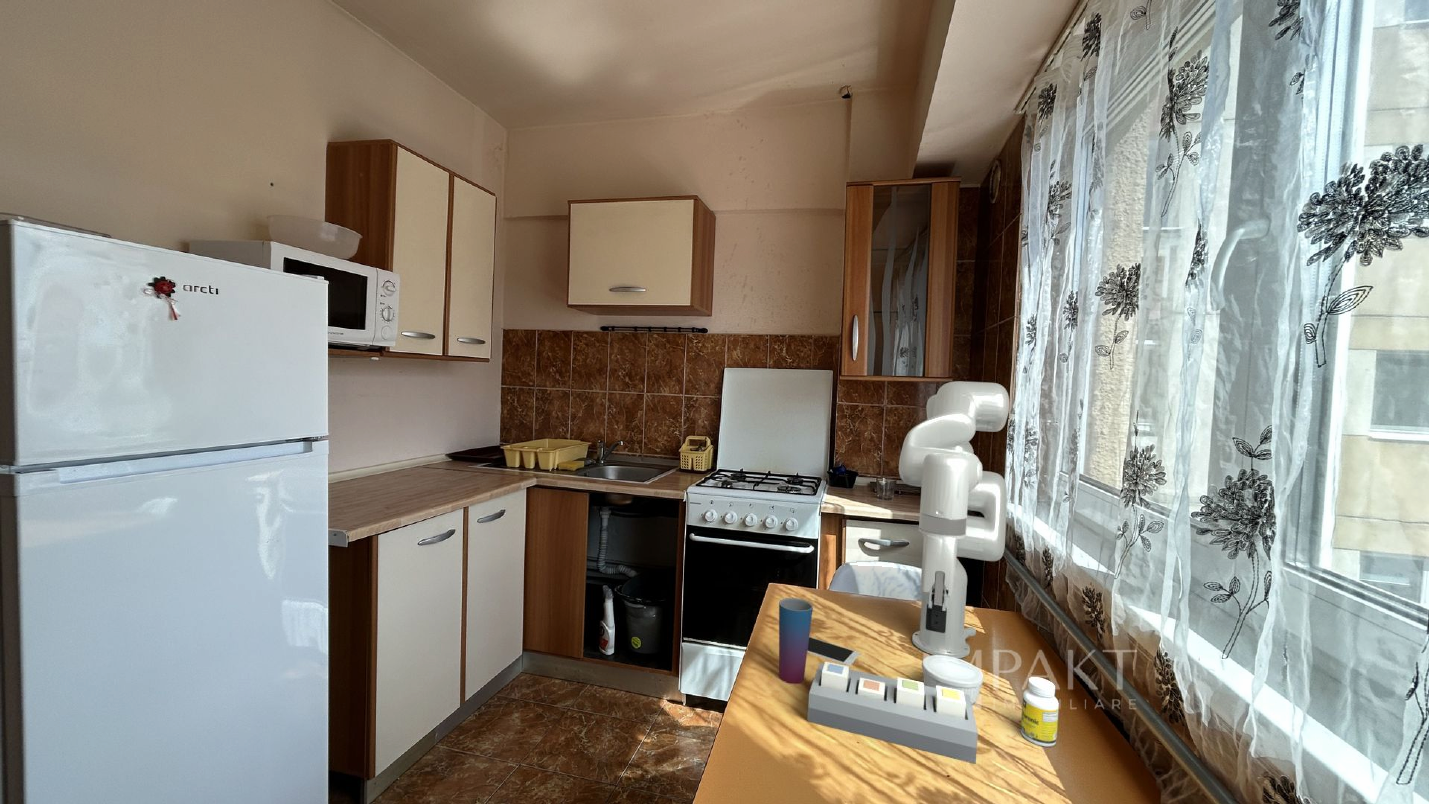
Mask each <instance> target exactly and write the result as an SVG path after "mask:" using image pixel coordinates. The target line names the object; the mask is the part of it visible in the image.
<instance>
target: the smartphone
mask: <svg viewBox="0 0 1429 804" xmlns="http://www.w3.org/2000/svg"><path fill="white" fill-rule="evenodd" d="M807 654H811V655H814V656H816V655H817V657H820V658H823V659H826V660H830V661H831V662H835V663H837V664H840V665H844V666H848V667H850V666H852V664H854V662H855V661H856V660H857V659H858V658H859V656H860V655H861V653H860V652H859V651H856V650H852V649H849V648H847V647H843V646H840V645H837V644H833V643H830V642H827V641H824V640H821V639H818V638H815V637H811V636H809V642H808V650H807ZM857 657H858V658H857ZM856 658H857V659H856Z"/></svg>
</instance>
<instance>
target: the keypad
mask: <svg viewBox="0 0 1429 804" xmlns="http://www.w3.org/2000/svg"><path fill="white" fill-rule="evenodd" d="M824 664H825V663H822V662H819V663H818V667H817V668H816V672H815V675H814V678H813V681H812V683H811V685H810V690H809V693H808V703H807V704H808V707H807V722H810V723H813V724H816V725H821V726H825V727H829V728H833V729H836V730H840V731H843V732H844V731H845V732H848V733H853V734H856V735H859V736H865V737H868V738H872V739H876V740H880V741H884V742H888V743H891V744H892V743H893V744H896V745H900V746H903V747H904V746H905V747H908V748H912V749H916V750H920V751H923V752H926V753H927V752H928V753H932V754H935V755H940V756H944V757H947V758H952V759H956V760H959V761H963V762H966V763H971V764H975V765H976V763H977V752H978V751H977V750H978V749H977V748H978V737H979V736H978V735H979V733H978V727H977V723H976V722H977V721H976V717H975V714H974V710H973V709H974V708H973V704H971V699H970V695H966V694H964V697H965V702H966V710H965V719H962V718H957V717H953V716H948V715H944V714H940V713H936V706H935V697H936V688H933V687H929V686H925V685H924V708H923V710H922V709H918V708H914V707H909V706H905V705H901V704H896V697H897V680H898V679H895V678H891V677H887V676H882V675H877V674H872V673H867V672H864V671H859V670H854V669H850V668H849V676H848V685H847V690H846V692H844V691H840V690H835V689H831V688H827V687H822V686H821V679H822V671H823V667H824ZM860 678H865V679H870V680H874V681H879V682H883V683H885V691H884V701H883V700H879V699H874V698H870V697H866V696H861V695H858V688H859V682H860Z"/></svg>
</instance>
